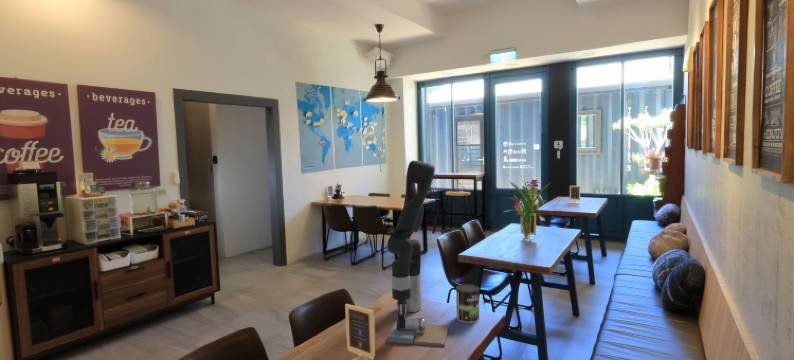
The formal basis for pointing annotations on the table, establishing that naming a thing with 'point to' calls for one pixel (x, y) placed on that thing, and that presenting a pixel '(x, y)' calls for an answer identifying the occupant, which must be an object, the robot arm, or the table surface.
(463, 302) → the coffee can
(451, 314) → the table surface
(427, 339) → the frame
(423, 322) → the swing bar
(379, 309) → the table surface
